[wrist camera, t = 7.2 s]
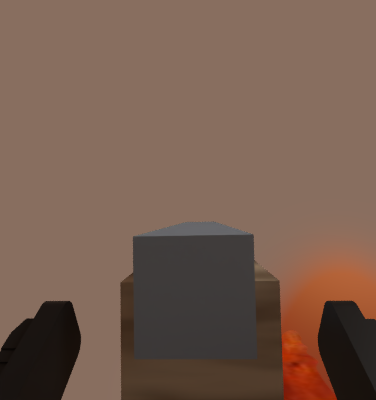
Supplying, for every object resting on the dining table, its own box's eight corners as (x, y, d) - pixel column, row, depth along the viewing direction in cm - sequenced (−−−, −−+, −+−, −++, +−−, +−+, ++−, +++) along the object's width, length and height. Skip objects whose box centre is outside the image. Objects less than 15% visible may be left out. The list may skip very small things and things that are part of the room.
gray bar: (257, 359, 9) (253, 234, 9) (134, 359, 9) (133, 236, 9) (214, 250, 39) (214, 221, 39) (186, 250, 39) (185, 222, 39)
